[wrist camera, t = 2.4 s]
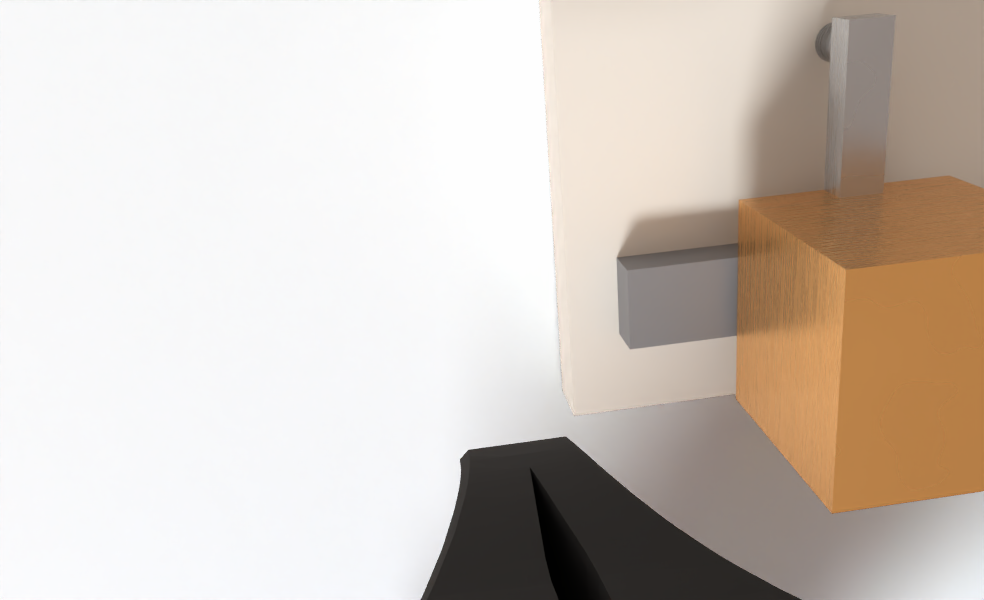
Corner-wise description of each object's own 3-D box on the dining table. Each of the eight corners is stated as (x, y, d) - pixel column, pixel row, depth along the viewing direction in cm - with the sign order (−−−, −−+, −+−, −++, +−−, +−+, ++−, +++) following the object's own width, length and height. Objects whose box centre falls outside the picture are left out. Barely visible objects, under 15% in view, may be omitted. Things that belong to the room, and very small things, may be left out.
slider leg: (723, 383, 19) (832, 513, 14) (725, 23, 16) (859, 48, 12) (910, 358, 19) (1072, 477, 15) (942, 2, 17) (1147, 20, 12)
